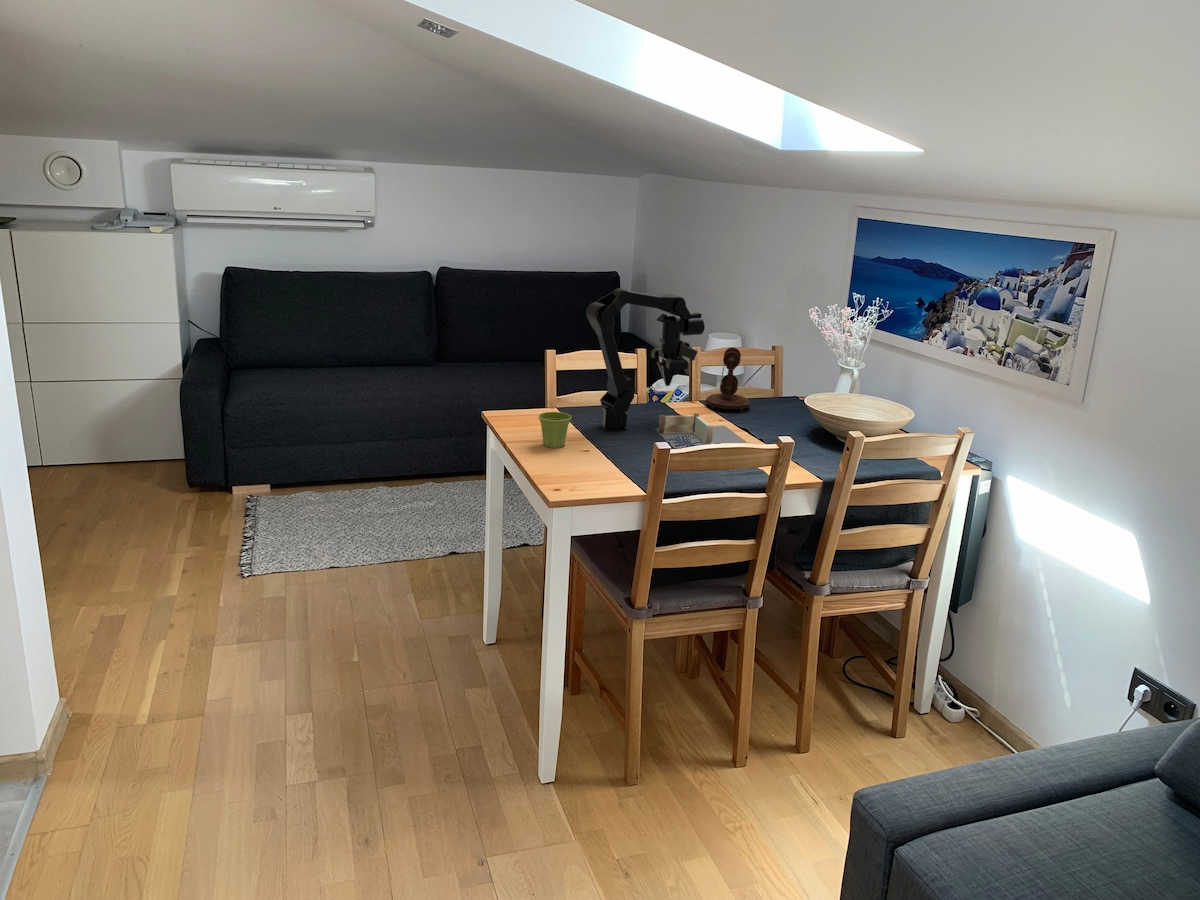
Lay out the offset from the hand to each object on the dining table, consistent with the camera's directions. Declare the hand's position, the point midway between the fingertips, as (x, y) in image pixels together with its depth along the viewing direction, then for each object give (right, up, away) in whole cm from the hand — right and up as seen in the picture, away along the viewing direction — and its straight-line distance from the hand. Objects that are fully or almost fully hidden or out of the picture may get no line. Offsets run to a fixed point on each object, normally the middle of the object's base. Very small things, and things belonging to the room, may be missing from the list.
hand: (667, 385), depth 289 cm
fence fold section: (+10, -16, -12) cm, 22 cm away
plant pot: (-34, -19, -24) cm, 46 cm away
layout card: (+9, -16, -9) cm, 21 cm away
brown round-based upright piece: (+22, -6, +26) cm, 35 cm away
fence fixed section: (+3, -15, -6) cm, 16 cm away
